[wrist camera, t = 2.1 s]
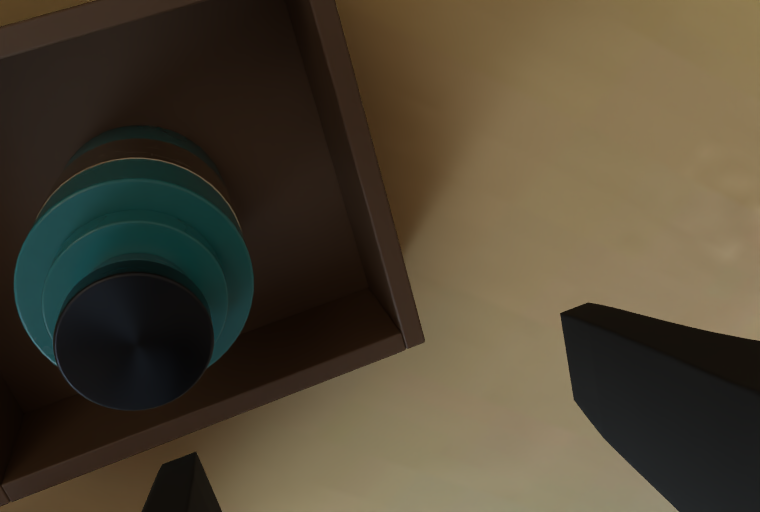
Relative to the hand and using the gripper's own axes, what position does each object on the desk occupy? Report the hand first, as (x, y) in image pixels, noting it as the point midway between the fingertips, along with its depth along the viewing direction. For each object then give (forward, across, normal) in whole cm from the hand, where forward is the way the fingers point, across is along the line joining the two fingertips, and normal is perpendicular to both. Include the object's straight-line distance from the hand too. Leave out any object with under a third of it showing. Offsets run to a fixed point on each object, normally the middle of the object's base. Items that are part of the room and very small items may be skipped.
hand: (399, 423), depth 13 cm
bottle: (+10, +4, -3) cm, 11 cm away
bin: (+10, +4, -3) cm, 11 cm away
